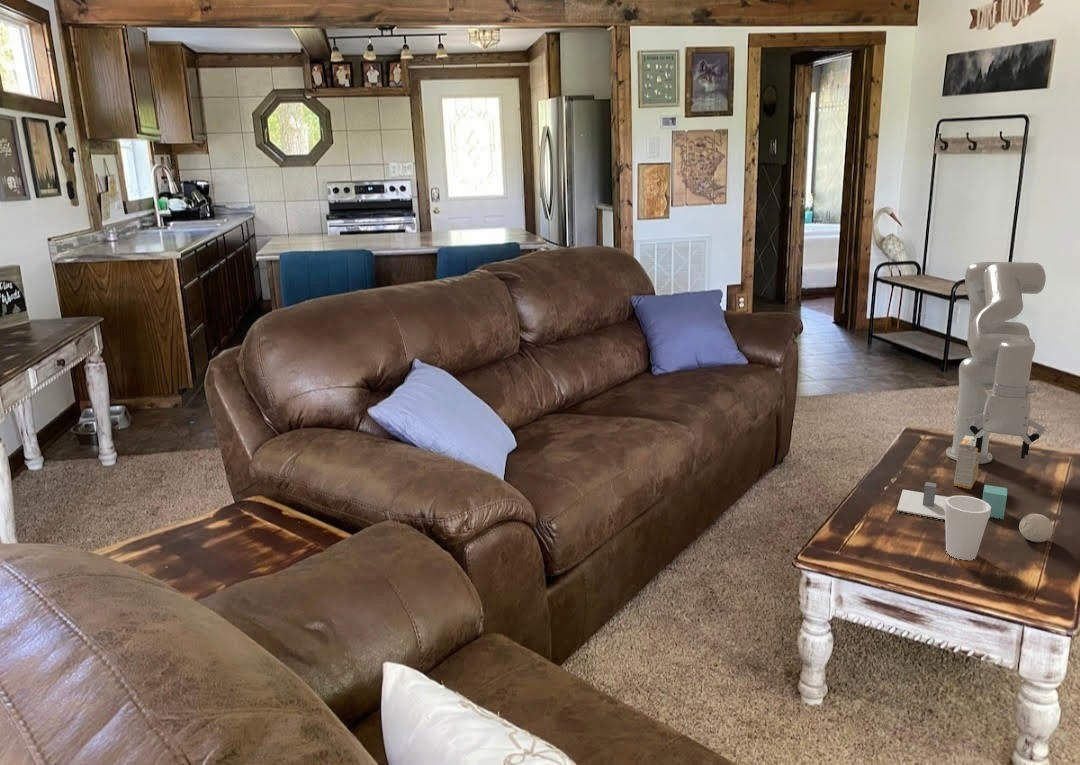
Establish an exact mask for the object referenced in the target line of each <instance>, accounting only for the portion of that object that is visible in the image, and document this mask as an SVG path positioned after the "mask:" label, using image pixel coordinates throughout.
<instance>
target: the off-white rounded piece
mask: <svg viewBox="0 0 1080 765" xmlns="http://www.w3.org/2000/svg"><path fill="white" fill-rule="evenodd" d="M1018 529H1019V531H1020V534H1021V535H1022V536H1023V537H1024V538H1025V539H1027V540H1028V541H1031V542H1035V543H1042V542H1043V543H1044V542H1046V541H1048V540H1049V539H1050V538H1051V537H1052V535H1053V533H1054V526H1053V523H1052V521H1051V520H1050V519H1049V518H1048V517H1047V516H1045V515H1044V514H1040V513H1029V514H1027V515H1025V516H1023V518H1021V520H1020V522H1019V526H1018Z"/></svg>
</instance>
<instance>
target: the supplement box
mask: <svg viewBox="0 0 1080 765" xmlns="http://www.w3.org/2000/svg"><path fill="white" fill-rule="evenodd" d="M976 438H977V437H973V436H966V435H965V436H964V437H963V439H962V440H961V442H960V443H959V449H958V457H957V461H956V467H955V472H954V481H953V487H957V486H958V488H961V487H962V488H961V489H967V490H972V488H973V486H974V484H975V483H976V481H977V478H978V471H979V465H980V464H979V458H980V453H978V448H975V445H976Z"/></svg>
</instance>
